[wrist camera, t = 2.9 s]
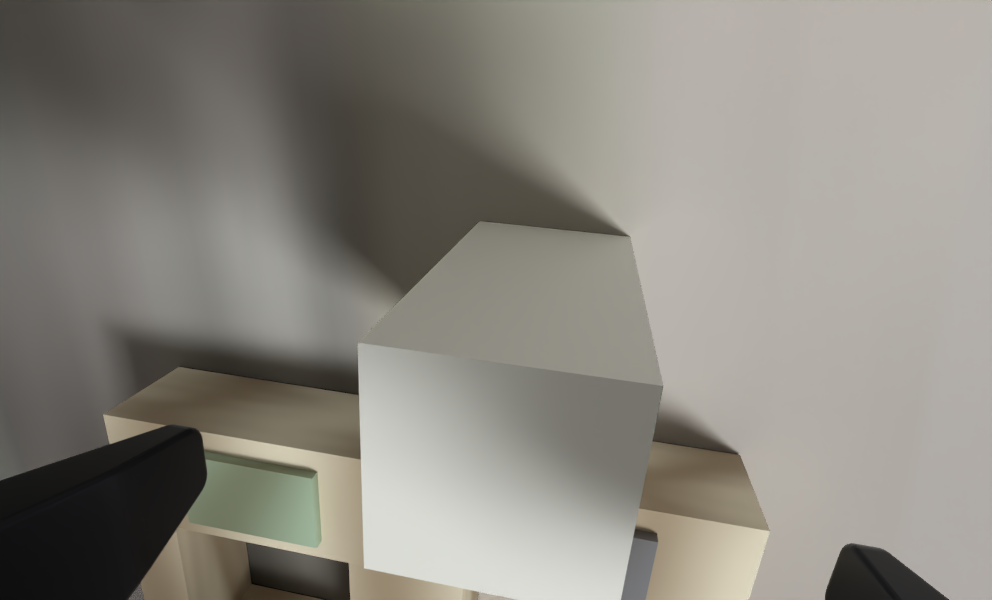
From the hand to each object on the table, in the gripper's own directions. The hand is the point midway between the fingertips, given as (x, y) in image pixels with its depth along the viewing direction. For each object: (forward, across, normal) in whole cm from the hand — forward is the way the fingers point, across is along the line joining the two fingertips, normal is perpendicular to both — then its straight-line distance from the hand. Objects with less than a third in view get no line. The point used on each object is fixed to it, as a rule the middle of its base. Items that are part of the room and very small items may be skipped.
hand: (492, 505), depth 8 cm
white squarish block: (+8, 0, 0) cm, 8 cm away
